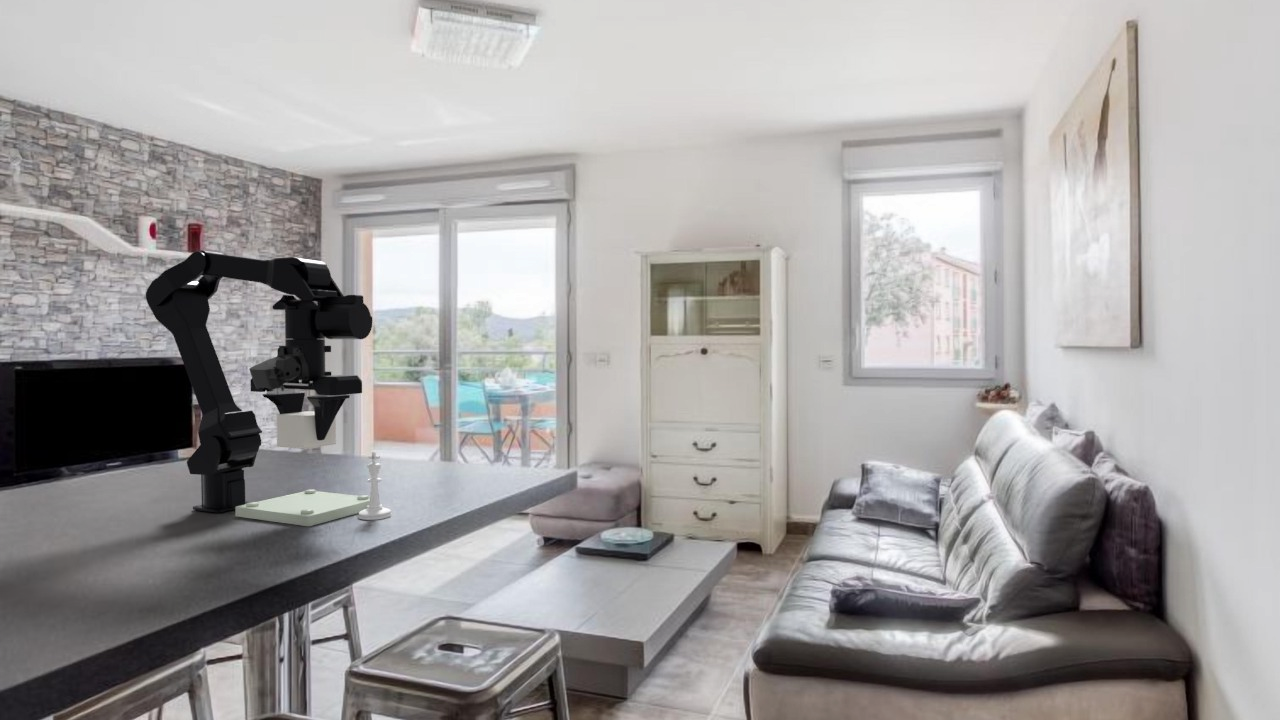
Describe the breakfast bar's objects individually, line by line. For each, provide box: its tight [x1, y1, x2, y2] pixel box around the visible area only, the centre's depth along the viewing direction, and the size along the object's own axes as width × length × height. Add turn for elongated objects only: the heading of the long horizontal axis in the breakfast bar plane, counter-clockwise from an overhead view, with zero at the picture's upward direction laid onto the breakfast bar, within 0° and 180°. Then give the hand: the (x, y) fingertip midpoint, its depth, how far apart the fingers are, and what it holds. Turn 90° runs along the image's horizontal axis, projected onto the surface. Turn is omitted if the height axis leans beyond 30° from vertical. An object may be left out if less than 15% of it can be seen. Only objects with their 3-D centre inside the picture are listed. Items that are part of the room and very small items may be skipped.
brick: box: [276, 410, 337, 450], centre depth 121 cm, size 6×6×5 cm
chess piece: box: [357, 451, 393, 521], centre depth 120 cm, size 5×5×10 cm
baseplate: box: [234, 488, 370, 527], centre depth 123 cm, size 16×14×2 cm
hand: (306, 438), depth 121 cm, fingers closed on brick, 6 cm apart
